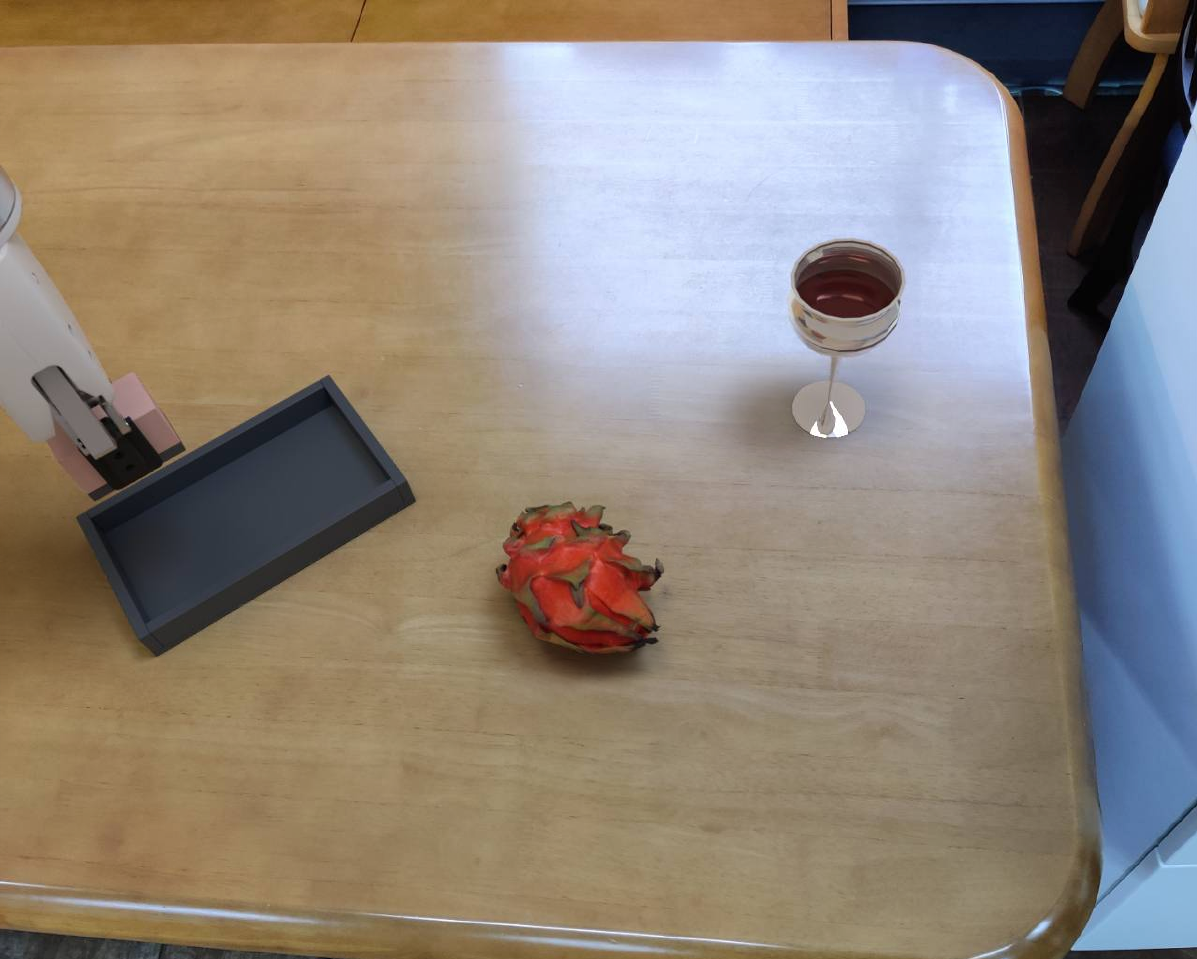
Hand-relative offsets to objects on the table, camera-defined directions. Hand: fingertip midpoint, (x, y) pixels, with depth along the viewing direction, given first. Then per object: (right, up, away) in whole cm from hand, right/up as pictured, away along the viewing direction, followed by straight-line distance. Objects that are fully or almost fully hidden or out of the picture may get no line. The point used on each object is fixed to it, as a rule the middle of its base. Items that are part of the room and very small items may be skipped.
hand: (124, 450), depth 62 cm
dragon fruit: (+27, -10, +4) cm, 29 cm away
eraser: (0, 0, +1) cm, 1 cm away
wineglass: (+44, +4, +10) cm, 45 cm away
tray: (+4, -3, +10) cm, 12 cm away
